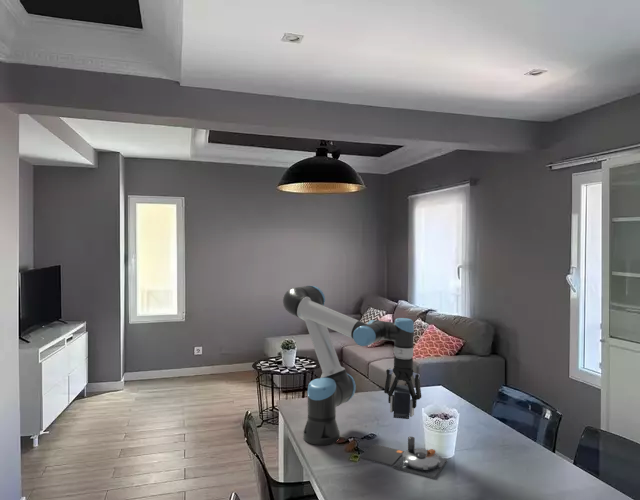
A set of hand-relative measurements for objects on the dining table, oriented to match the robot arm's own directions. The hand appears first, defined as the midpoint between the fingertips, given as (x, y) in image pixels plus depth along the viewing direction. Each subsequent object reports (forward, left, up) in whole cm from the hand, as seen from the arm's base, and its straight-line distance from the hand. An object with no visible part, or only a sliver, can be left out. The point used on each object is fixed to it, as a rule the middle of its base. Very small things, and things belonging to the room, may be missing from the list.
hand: (401, 413), depth 186 cm
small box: (0, 0, -1) cm, 1 cm away
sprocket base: (+13, -14, -12) cm, 22 cm away
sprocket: (+13, -14, -11) cm, 22 cm away
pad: (-2, -14, -12) cm, 19 cm away
